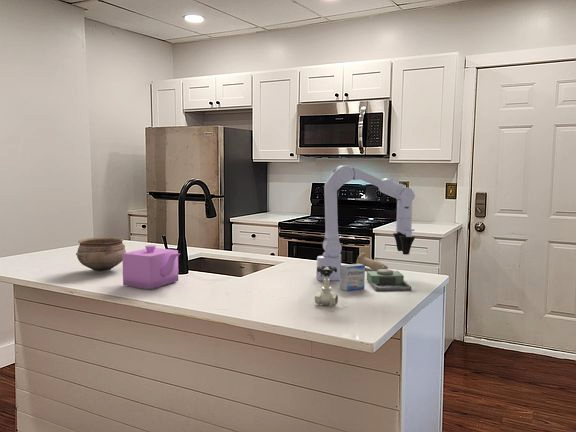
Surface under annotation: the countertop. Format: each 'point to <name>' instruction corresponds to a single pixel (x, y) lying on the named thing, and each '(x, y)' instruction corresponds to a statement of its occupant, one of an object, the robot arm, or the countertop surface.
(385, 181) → the robot arm
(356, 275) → the medicine box
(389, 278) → the green block with dome
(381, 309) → the countertop surface
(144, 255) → the teapot
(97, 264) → the cooking pot
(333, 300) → the valve
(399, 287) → the gray rectangular tray
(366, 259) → the handle
